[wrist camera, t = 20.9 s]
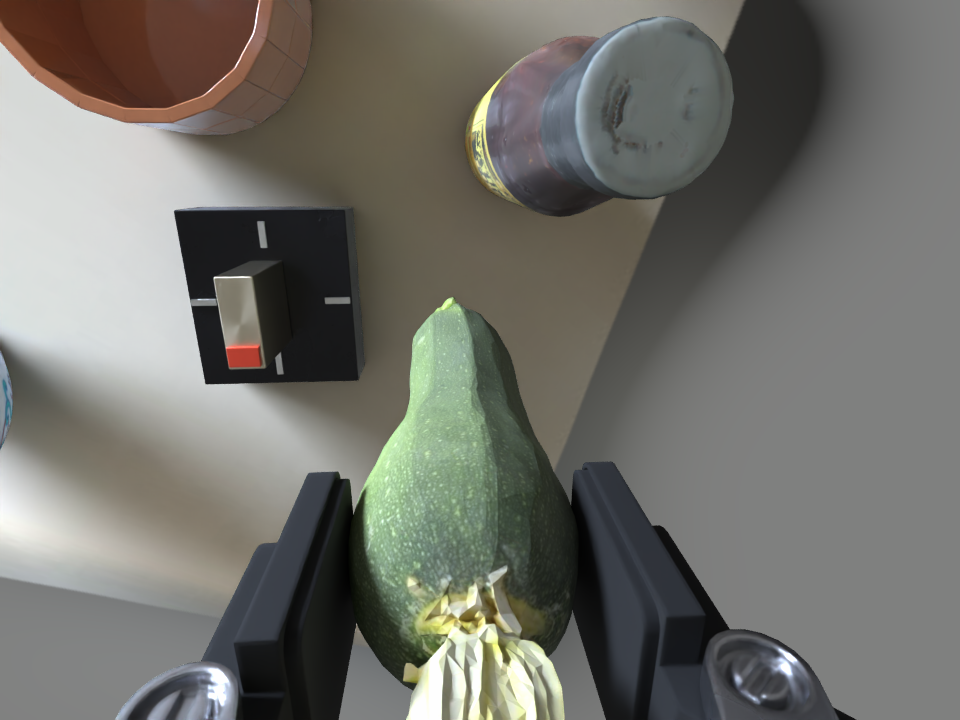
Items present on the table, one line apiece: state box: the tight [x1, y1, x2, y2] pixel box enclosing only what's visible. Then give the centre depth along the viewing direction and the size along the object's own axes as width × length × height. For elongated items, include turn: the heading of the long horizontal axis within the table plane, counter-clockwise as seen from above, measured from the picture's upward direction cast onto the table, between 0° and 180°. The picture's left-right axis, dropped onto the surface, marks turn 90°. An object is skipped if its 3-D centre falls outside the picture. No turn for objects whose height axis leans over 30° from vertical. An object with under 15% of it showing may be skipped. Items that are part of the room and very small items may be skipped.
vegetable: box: [348, 297, 579, 720], centre depth 13 cm, size 4×4×20 cm
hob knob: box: [214, 261, 292, 369], centre depth 27 cm, size 5×2×5 cm, turn 0°
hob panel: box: [174, 207, 365, 384], centre depth 31 cm, size 10×9×3 cm
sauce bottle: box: [465, 17, 734, 217], centre depth 22 cm, size 6×6×20 cm
